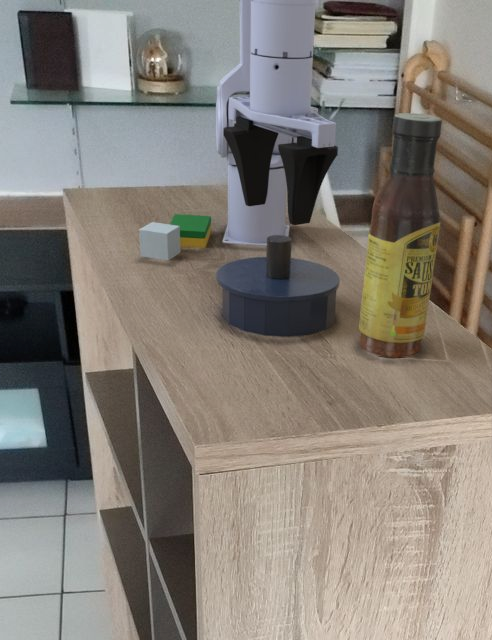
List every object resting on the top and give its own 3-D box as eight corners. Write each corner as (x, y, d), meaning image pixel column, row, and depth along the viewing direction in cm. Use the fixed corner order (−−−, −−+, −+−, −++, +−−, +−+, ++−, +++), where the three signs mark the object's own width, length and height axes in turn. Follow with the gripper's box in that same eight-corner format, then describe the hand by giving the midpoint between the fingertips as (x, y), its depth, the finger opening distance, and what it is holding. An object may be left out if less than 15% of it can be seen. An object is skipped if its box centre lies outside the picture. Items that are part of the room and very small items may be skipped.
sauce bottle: (403, 368, 83) (433, 126, 70) (345, 351, 85) (364, 115, 73) (433, 347, 87) (467, 116, 75) (377, 332, 90) (400, 106, 77)
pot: (228, 299, 95) (228, 261, 93) (333, 305, 95) (336, 267, 93) (218, 338, 86) (218, 297, 84) (334, 344, 87) (337, 304, 84)
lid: (209, 268, 93) (209, 221, 90) (324, 266, 95) (327, 220, 92) (224, 309, 83) (224, 258, 80) (351, 307, 85) (355, 257, 83)
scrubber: (175, 234, 113) (174, 213, 111) (211, 236, 113) (211, 216, 112) (168, 250, 107) (167, 229, 106) (205, 252, 108) (205, 231, 106)
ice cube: (153, 253, 106) (152, 221, 104) (180, 257, 106) (179, 225, 104) (140, 261, 104) (138, 229, 102) (168, 265, 103) (167, 233, 101)
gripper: (366, 64, 79) (353, 226, 87) (271, 43, 88) (267, 192, 96) (303, 67, 75) (295, 236, 84) (210, 45, 84) (212, 200, 93)
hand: (277, 213), depth 90 cm, fingers open, 7 cm apart
